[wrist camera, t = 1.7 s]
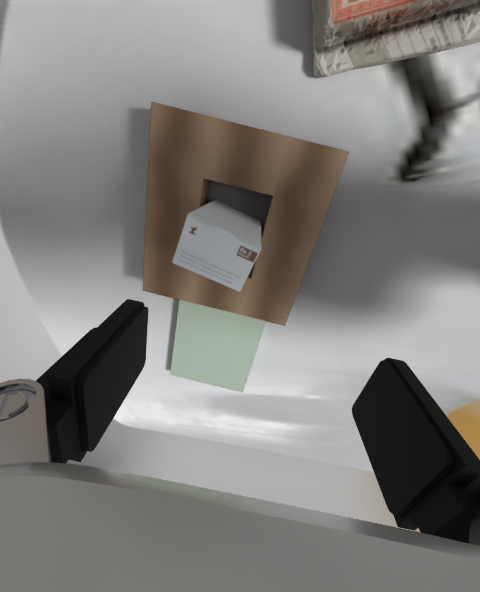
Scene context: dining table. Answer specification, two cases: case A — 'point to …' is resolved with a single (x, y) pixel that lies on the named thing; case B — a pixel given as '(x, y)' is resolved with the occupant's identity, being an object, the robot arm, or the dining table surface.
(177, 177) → the pocket block
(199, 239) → the skincare box
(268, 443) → the dining table surface
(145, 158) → the dining table surface
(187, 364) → the mat
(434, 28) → the pink and beige block
